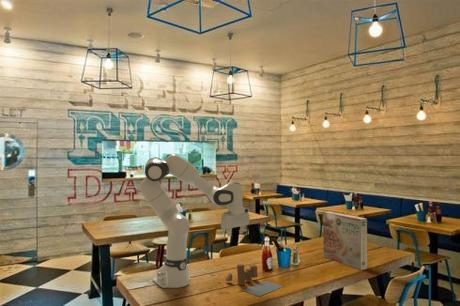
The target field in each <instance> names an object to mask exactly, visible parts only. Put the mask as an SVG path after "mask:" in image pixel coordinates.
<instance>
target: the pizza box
mask: <svg viewBox="0 0 460 306" xmlns="http://www.w3.org/2000/svg"><path fill="white" fill-rule="evenodd" d="M323 258H325V259H328V260H330V261H334V262H337V263H339V264H342V265H345V266H348V267H350V268H353V269H357V270H360V271H364V270H367V269H368V218H365V217H360V216H356V215H350V214H345V213H344V214H343V213H339V212H334V211H323Z"/></svg>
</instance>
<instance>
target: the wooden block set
mask: <svg viewBox="0 0 460 306" xmlns="http://www.w3.org/2000/svg"><path fill="white" fill-rule="evenodd" d="M236 271H237V284H238V285H239V286H244V285H245V284H246V282H251V281H253V278H258V277H259V276H258V266H257V265H255V264H253V265H249V268H246V269H245V264H242V263H238V264H237V265H236ZM225 281H226V282H231V281H233V274H232V273H231V272H230V273H229V274H228V275H227V276H226V277H225Z"/></svg>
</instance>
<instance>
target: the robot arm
mask: <svg viewBox="0 0 460 306" xmlns="http://www.w3.org/2000/svg"><path fill="white" fill-rule="evenodd" d="M169 174H170V175H171V176H173V177H175V178H176V179H178V180H179V181H181V182H182V183H184V184H186V185H188V186H189V185H191V186H193V187H195V188H197V189H198V190H199V191H200V192H202V193H203V194H205V196H206V197H207V199H208V201H209V202H210V203H212V204H214V205H217V206H221V207H222V206H227V211H224V212H223V213H222V214H221V220H220V228H221V229H223V230H225V231H226V234H227V237H232V233H233V232H231V229H233V228H239V227H240V229H239V232H238V233H239V234H244V229H245V226H247V225H249V224H250V208H248V207H244V203H243V198H244V193H243V186H242V184H241V183H239V182H235V181H229V182H228V183H227V184H225V185H223V186H221V187H220V186H215V185H212V184H211V183H209V181H208V182H207V181H206V180H205V179H204V178H202V176H201V175H200V173H199V170H198V169H197V168H196V167H195V165H193V164H192V163H191V162H190V161H188V160H186V159H185V158H184V157H182V156H179V155H177V154H175V153H172V154H169V155H168V156H166V158H165V159H164V160H163V159H162V158H159V157H157V156H155V157H151V158H149V159H148V160H147V161H146V163H145V164H144V175H145V178H144V179H142V180H141V181H140V183H139V187H138V188H139V190H140V193H141V194H142V196H143V197H144V199H145V201H146V202H147V203H148V205H149V206H150V207H151V208H152V210H153V212H155V214H156V216H157V217H158V218H159V220H160V221H161V222H162V224H163V225H164V226H165V228H166V229H167V230H168V232H167V233H168V235H167V241H166V248H165V249H166V257H164V258H163V260H164V264H163V265H162V266H161V267H159V268H158V269H157V273H156V276H155V277H153V278H152V281H153V282H154V283H155V284H157V285H158V286H159V287H161V288H163V289H164V288H165V289H167V288H168V289H169V288H171V289H176V288H183V287H186V286H188V285H189V284H190V281H191V277H190V272H189V266H188V257H187V241H188V236H189V230H190V227H191V226H190V225H191V224H190V221H189V220H188V218H187V217H186V216H185V215H183V214H182V213H181V212H180V211H179V209H178V208H177V206H176V205H175V202H174V201H173V199H172V198H171V197H170V195H169V194H168V193H167V192H166V190H165V189H164V188H163V186H162V184H161V183H160V182H161V180H163V179H164V178H165V177H166V176H168V175H169Z"/></svg>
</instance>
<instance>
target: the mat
mask: <svg viewBox="0 0 460 306" xmlns="http://www.w3.org/2000/svg"><path fill="white" fill-rule="evenodd" d="M283 287H284V285H282V284H278V283H275V282H272V281H268V280H264V281H262V282H260V283H257V284H255V285H251V286H249V287H247V288H243V289H241V291H242V292H245V293H248V294H250V295H253V296H256V297H262V296H265V295H268V294H269V293H272V292H274V291H276V290H279V289H281V288H283Z"/></svg>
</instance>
